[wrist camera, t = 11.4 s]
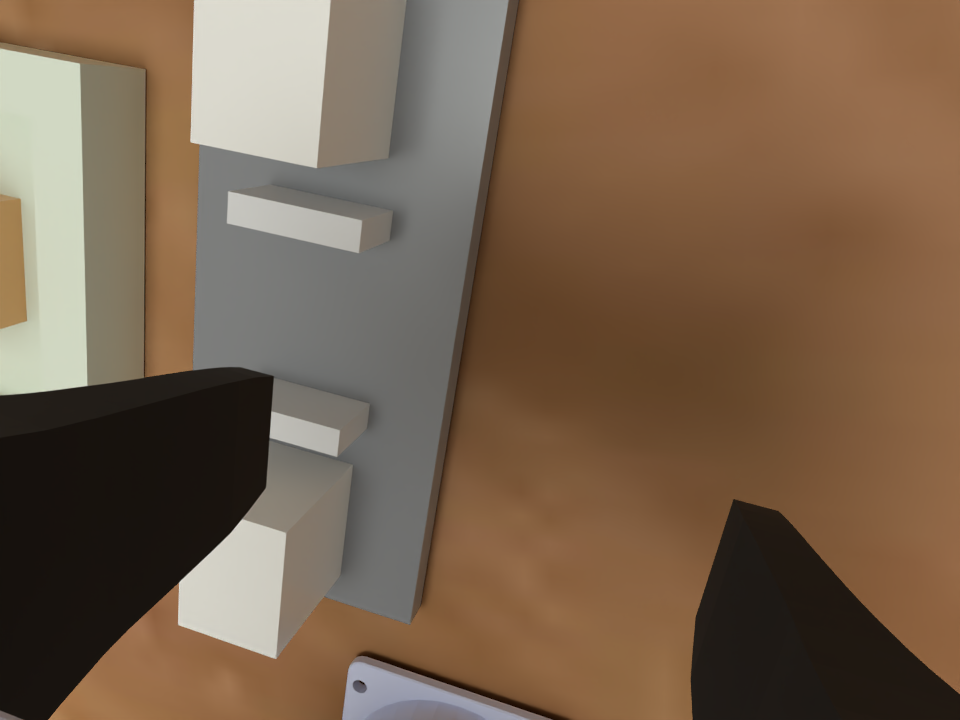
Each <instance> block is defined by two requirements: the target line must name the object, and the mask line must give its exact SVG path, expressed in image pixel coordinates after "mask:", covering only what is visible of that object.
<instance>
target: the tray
mask: <svg viewBox="0 0 960 720" xmlns="http://www.w3.org/2000/svg"><path fill="white" fill-rule="evenodd" d="M145 85H146V69H142V68H136V67H131V66H126V65H120V64H115V63H110V62H104V61H99V60H94V59H88V58H83V57H77V56H72V55H67V54H61V53H56V52H51V51H45V50H40V49H35V48H29V47H24V46H18V45H13V44H8V43H2V42H0V194H2V195H6V196H11V197H15V198H19V199H21V214H22V233H23V252H24V271H25V291H26V310H27V321H25V322H22V323H19V324H15V325H12V326H9V327H6V328H2V329H0V395H12V394H24V393H35V392H45V391H53V390H60V389H68V388H76V387H83V386H91V385H99V384H106V383H114V382H120V381H127V380H133V379H140V378H144V269H145Z"/></svg>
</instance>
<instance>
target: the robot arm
mask: <svg viewBox="0 0 960 720" xmlns="http://www.w3.org/2000/svg"><path fill="white" fill-rule="evenodd" d="M273 383H274V376H272V375H268V374H264V373H261V372H257V371H253V370H249V369H246V368H242V367H219V368H208V369H200V370H192V371H185V372H178V373H172V374H165V375H159V376H152V377H146V378H140V379H133V380H127V381H120V382H114V383H106V384H99V385H91V386H83V387H76V388H68V389H60V390H53V391H45V392H35V393H24V394H12V395H0V720H48V719H49V718H50V717H51V715H52V714H53V713H54V712H55V711H56V709H57V708H58V707H59V706H60V704H61V703H62V702H63V701H64V700H65V699H66V698H67V696H68V695H69V694H70V693H71V692H72V691H73V690H74V688H75V687H76V686H77V685H78V684H79V683H80V681H81V680H82V679H83V678H84V677H85V676H86V675H87V673H88V672H89V671H90V670H91V669H92V668H93V667H94V665H95V664H96V663H97V662H98V661H99V660H100V658H101V657H102V656H103V655H104V654H105V653H106V652H107V651H108V650H109V649H110V648H111V647H112V646H113V645H114V644H115V643H116V642H117V641H118V640H119V639H120V637H121V636H122V635H123V634H124V633H125V632H126V631H127V630H128V629H129V628H130V627H132V626H133V625H134V624H135V623H136V622H137V621H138V620H139V619H140V618H141V617H142V616H143V615H144V614H145V613H147V612H148V611H149V610H150V609H151V608H152V607H153V606H154V605H155V604H156V603H157V602H158V601H159V600H161V599H162V598H163V597H164V596H165V595H166V594H167V593H168V592H169V591H170V590H171V589H172V588H173V587H174V586H176V585H177V584H178V583H179V582H180V581H181V580H182V579H183V578H184V577H185V576H186V575H187V574H188V573H190V572H191V571H192V570H193V569H194V568H195V567H196V566H197V565H198V564H199V563H200V562H201V561H202V560H203V559H204V558H205V557H206V556H208V555H209V554H210V553H211V552H212V551H213V550H214V549H215V548H216V547H217V546H218V545H219V544H220V543H221V542H222V541H223V540H224V539H225V538H226V537H227V536H228V535H229V534H230V533H231V532H232V531H233V530H234V528H235V527H236V526H237V525H238V524H239V522H240V521H241V520H242V519H243V518H244V516H245V515H246V514H247V513H248V511H249V510H250V509H251V507H252V506H253V505H254V503H255V502H256V501H257V499H258V498H259V497H260V495H261V494H262V493H263V491H264V490H265V489H266V483H267V468H268V454H269V440H270V426H271V412H272V397H273ZM359 680H360V681H362V682H364V683H365V685H363V684H362V683H360V682H359ZM691 695H692V715H693V720H960V694H959V693H958V692H956V691H955V690H954V689H953V688H952V687H950V686H949V685H948V684H947V683H946V682H944V681H943V680H942V679H941V678H940V677H939V676H937V675H936V674H935V673H934V672H933V671H931V670H930V669H929V668H928V667H927V666H926V665H925V664H924V663H922V662H921V661H920V660H919V659H918V658H917V657H916V656H915V655H914V654H913V653H911V652H910V651H909V650H908V649H907V648H906V647H905V646H904V645H903V644H902V643H901V642H900V641H899V640H898V639H897V638H896V637H895V636H894V635H893V634H892V633H891V632H890V631H889V630H888V629H887V628H886V627H885V626H884V625H883V624H882V623H881V622H880V621H879V620H878V619H877V618H876V617H875V616H874V615H873V614H872V613H871V612H870V611H869V610H868V609H867V608H866V607H865V606H864V605H863V604H862V603H861V602H860V601H859V600H858V599H857V598H856V597H855V596H854V594H853V593H852V592H851V591H850V590H849V589H848V588H847V587H846V586H845V585H844V584H843V582H842V581H841V580H840V579H839V578H838V577H837V576H836V575H835V574H834V572H833V571H832V570H831V569H830V568H829V567H828V566H827V564H826V563H825V562H824V561H823V560H822V559H821V558H820V556H819V555H818V554H817V553H816V552H815V551H814V549H813V548H812V547H811V546H810V545H809V544H808V543H807V541H806V540H805V539H804V538H803V537H802V536H801V534H800V533H799V532H798V531H797V530H796V529H795V528H794V527H793V525H792V524H791V523H790V522H789V521H788V520H787V519H786V518H785V517H784V516H783V515H782V514H781V513H780V512H779V511H776V510H772V509H768V508H764V507H761V506H757V505H753V504H749V503H746V502H742V501H738V500H735V499H734V500H733V503H732V506H731V509H730V512H729V515H728V518H727V522H726V525H725V528H724V531H723V534H722V537H721V540H720V543H719V547H718V550H717V553H716V556H715V559H714V562H713V565H712V568H711V572H710V575H709V578H708V581H707V584H706V587H705V590H704V593H703V596H702V600H701V603H700V606H699V609H698V612H697V615H696V621H695V632H694V644H693V655H692V669H691ZM342 720H552V719H549V718H546V717H543V716H540V715H537V714H534V713H531V712H528V711H525V710H522V709H519V708H516V707H514V706H511V705H508V704H505V703H502V702H499V701H496V700H493V699H490V698H487V697H484V696H481V695H478V694H475V693H472V692H469V691H466V690H463V689H461V688H458V687H455V686H452V685H449V684H446V683H443V682H440V681H437V680H434V679H431V678H428V677H425V676H422V675H419V674H416V673H413V672H410V671H408V670H405V669H402V668H399V667H396V666H393V665H390V664H387V663H384V662H381V661H378V660H375V659H372V658H369V657H366V656H359V657H356V658H355V659H354V660H353V661H352V663H351V665H350V667H349V669H348V676H347V684H346V692H345V700H344V708H343V716H342Z"/></svg>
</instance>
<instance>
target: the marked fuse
mask: <svg viewBox="0 0 960 720" xmlns="http://www.w3.org/2000/svg"><path fill="white" fill-rule="evenodd" d="M25 321H27V310H26V291H25V271H24V252H23V233H22V214H21V199H19V198H15V197H11V196H6V195H2V194H0V329H2V328H6V327H9V326H12V325H15V324H19V323H22V322H25Z"/></svg>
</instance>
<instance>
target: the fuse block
mask: <svg viewBox="0 0 960 720" xmlns="http://www.w3.org/2000/svg"><path fill="white" fill-rule="evenodd" d="M518 3H519V0H194V30H193V69H192V108H191V143H196V144H200V151H199V184H198V218H197V251H196V285H195V318H194V351H193V370H200V369H208V368H219V367H242V368H246V369H249V370H253V371H257V372H261V373H264V374H268V375H272V376H274V383H273V397H272V412H271V426H270V440H269V454H268V468H267V483H266V489H265V490H264V491H263V493H262V494H261V495H260V497H259V498H258V499H257V501H256V502H255V503H254V505H253V506H252V507H251V509H250V510H249V511H248V513H247V514H246V515H245V516H244V518H243V519H242V520H241V521H240V522H239V524H238V525H237V526H236V527H235V528H234V530H233V531H232V532H231V533H230V534H229V535H228V536H227V537H226V538H225V539H224V540H223V541H222V542H221V543H220V544H219V545H218V546H217V547H216V548H215V549H214V550H213V551H212V552H211V553H210V554H209V555H208V556H206V557H205V558H204V559H203V560H202V561H201V562H200V563H199V564H198V565H197V566H196V567H195V568H194V569H193V570H192V571H191V572H190V573H188V574H187V575H186V576H185V577H184V578H183V579H182V580H181V581H180V582H179V612H178V625H180V626H183V627H186V628H189V629H191V630H194V631H197V632H200V633H203V634H206V635H209V636H211V637H214V638H217V639H220V640H223V641H226V642H229V643H231V644H234V645H237V646H240V647H243V648H246V649H249V650H252V651H254V652H257V653H260V654H263V655H266V656H269V657H272V658H274V659H276V658H277V657H278V656H279V654H280V653H281V652H282V650H283V649H284V648H285V647H286V645H287V644H288V643H289V641H290V640H291V639H292V637H293V636H294V635H295V634H296V632H297V631H298V630H299V628H300V627H301V626H302V624H303V623H304V622H305V621H306V619H307V618H308V617H309V615H310V614H311V613H312V611H313V610H314V609H315V608H316V606H317V605H318V604H319V602H320V601H321V600H322V599H323V597H326V598H329V599H332V600H336V601H339V602H342V603H345V604H348V605H351V606H354V607H357V608H360V609H363V610H366V611H369V612H372V613H375V614H378V615H381V616H385V617H388V618H391V619H394V620H397V621H400V622H403V623H406V624H409V625H410V624H411V622H412V620H413V618H414V617H415V615H416V613H417V611H418V609H419V608H420V606H421V600H422V594H423V588H424V581H425V575H426V569H427V563H428V557H429V551H430V544H431V538H432V532H433V526H434V520H435V514H436V508H437V501H438V495H439V489H440V483H441V477H442V471H443V464H444V458H445V452H446V446H447V440H448V434H449V428H450V421H451V415H452V409H453V403H454V397H455V391H456V384H457V378H458V372H459V366H460V360H461V354H462V348H463V341H464V335H465V329H466V323H467V317H468V311H469V304H470V298H471V292H472V286H473V280H474V274H475V268H476V261H477V255H478V249H479V243H480V237H481V231H482V224H483V218H484V212H485V206H486V200H487V194H488V188H489V181H490V175H491V169H492V163H493V157H494V151H495V144H496V138H497V132H498V126H499V120H500V114H501V108H502V101H503V95H504V89H505V83H506V77H507V71H508V64H509V58H510V52H511V46H512V40H513V34H514V28H515V21H516V15H517V9H518Z"/></svg>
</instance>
